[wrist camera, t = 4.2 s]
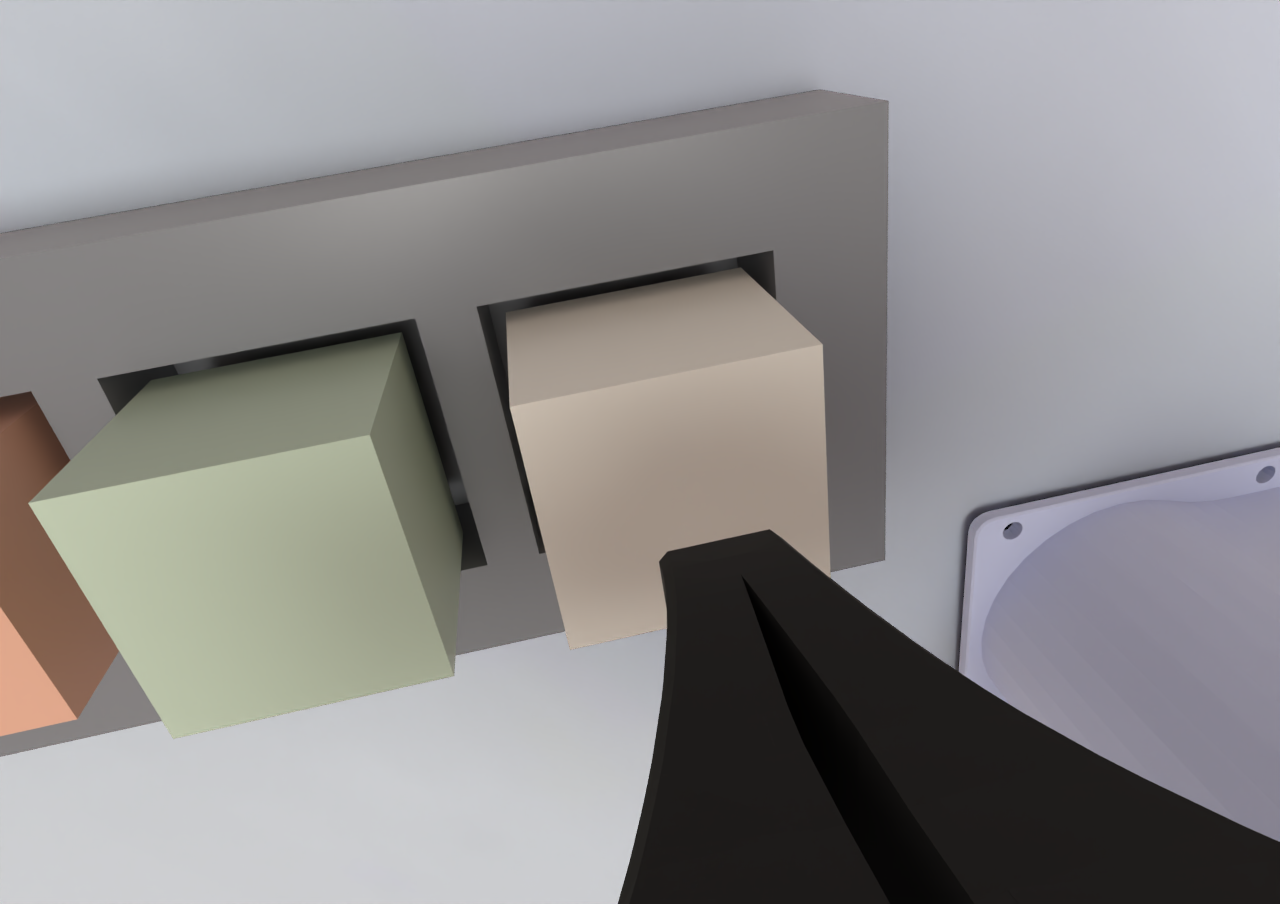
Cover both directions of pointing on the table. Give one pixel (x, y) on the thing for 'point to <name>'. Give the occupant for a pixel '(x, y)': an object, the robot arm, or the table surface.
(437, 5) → the table surface
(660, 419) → the ivory key
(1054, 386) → the table surface
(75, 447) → the keypad housing
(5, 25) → the table surface
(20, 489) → the terracotta key
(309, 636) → the sage key
